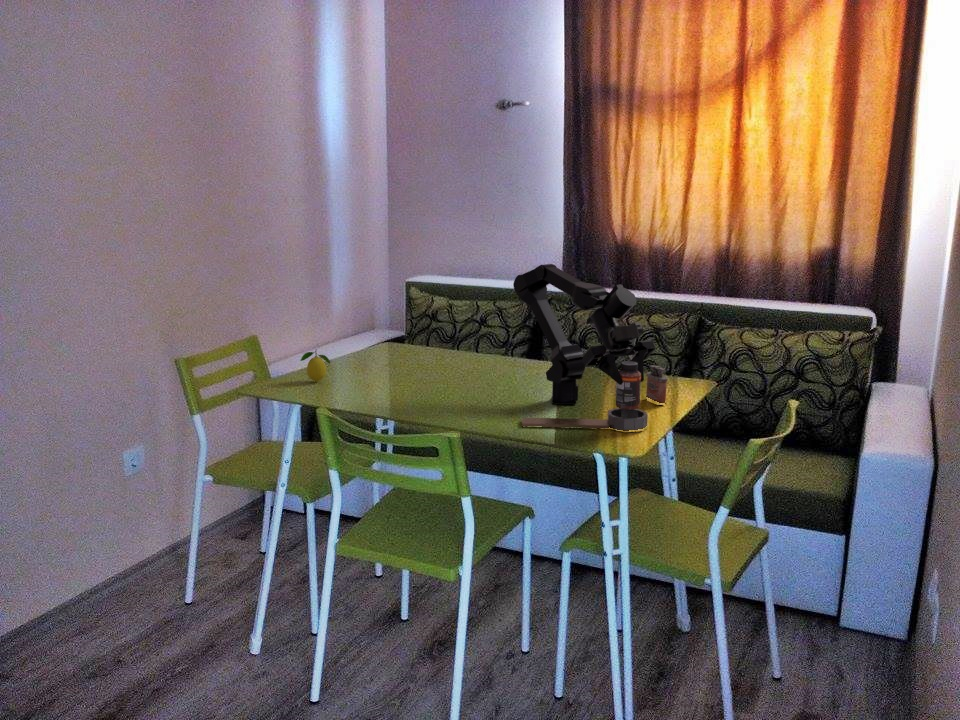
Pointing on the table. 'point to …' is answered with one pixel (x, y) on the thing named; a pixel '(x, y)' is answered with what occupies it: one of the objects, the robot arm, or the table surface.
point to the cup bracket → (597, 421)
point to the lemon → (316, 366)
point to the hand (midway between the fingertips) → (632, 382)
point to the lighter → (656, 384)
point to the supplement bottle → (628, 386)
